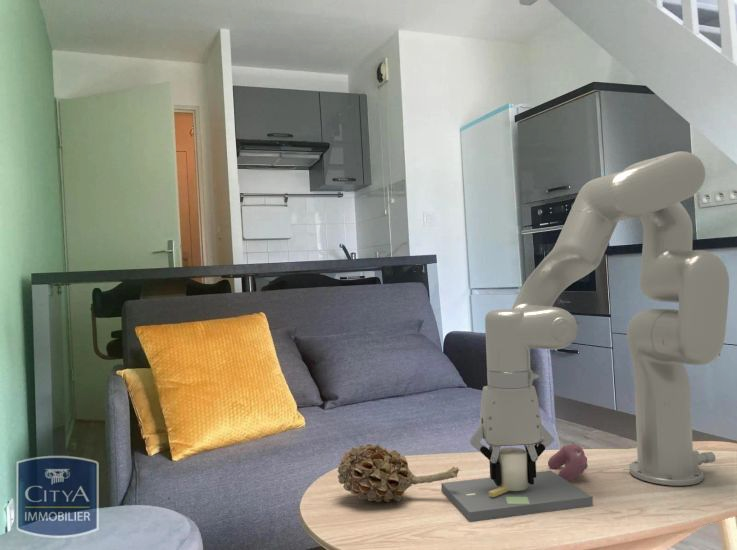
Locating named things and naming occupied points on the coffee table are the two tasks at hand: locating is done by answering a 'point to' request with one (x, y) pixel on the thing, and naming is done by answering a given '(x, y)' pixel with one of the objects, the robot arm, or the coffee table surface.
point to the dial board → (515, 497)
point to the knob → (512, 471)
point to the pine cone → (381, 473)
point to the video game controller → (569, 461)
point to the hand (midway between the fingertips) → (513, 481)
